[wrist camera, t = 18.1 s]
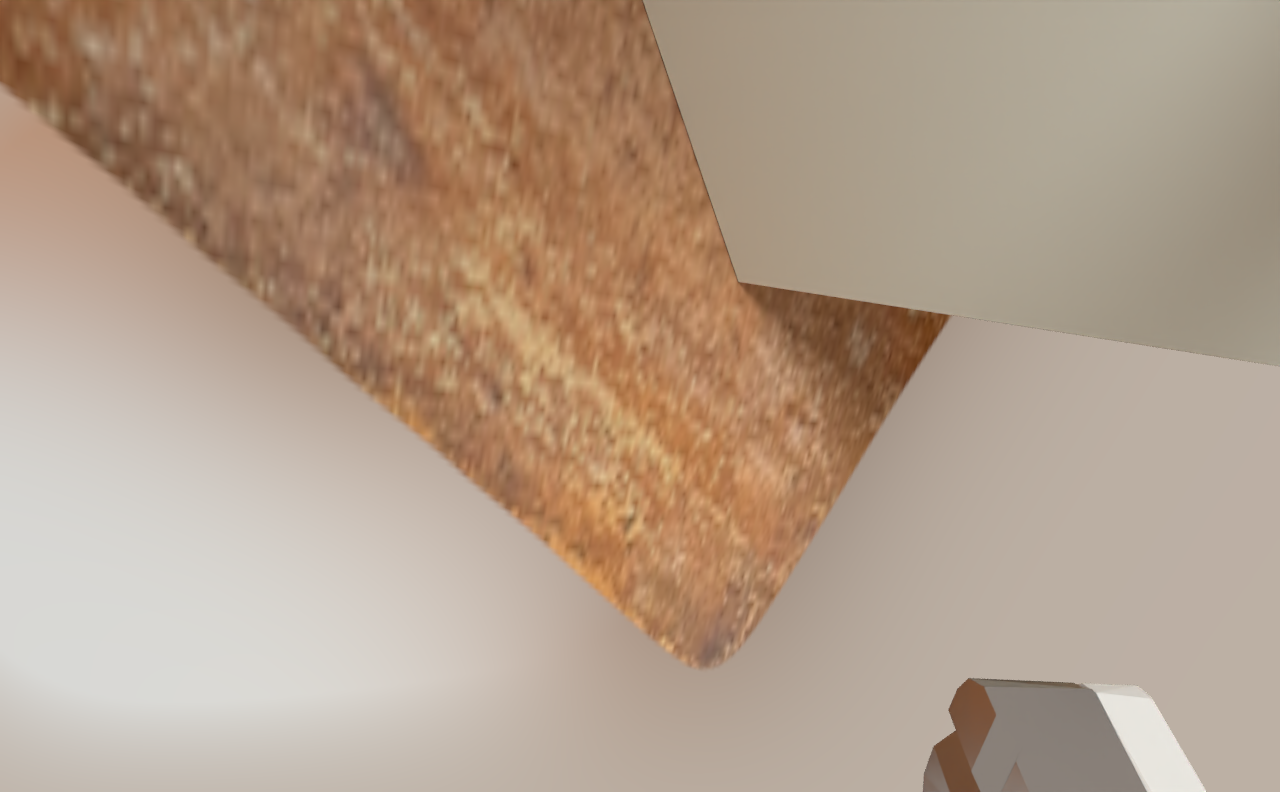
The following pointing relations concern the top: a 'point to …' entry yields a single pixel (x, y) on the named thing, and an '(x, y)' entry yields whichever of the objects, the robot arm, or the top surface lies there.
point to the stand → (998, 158)
